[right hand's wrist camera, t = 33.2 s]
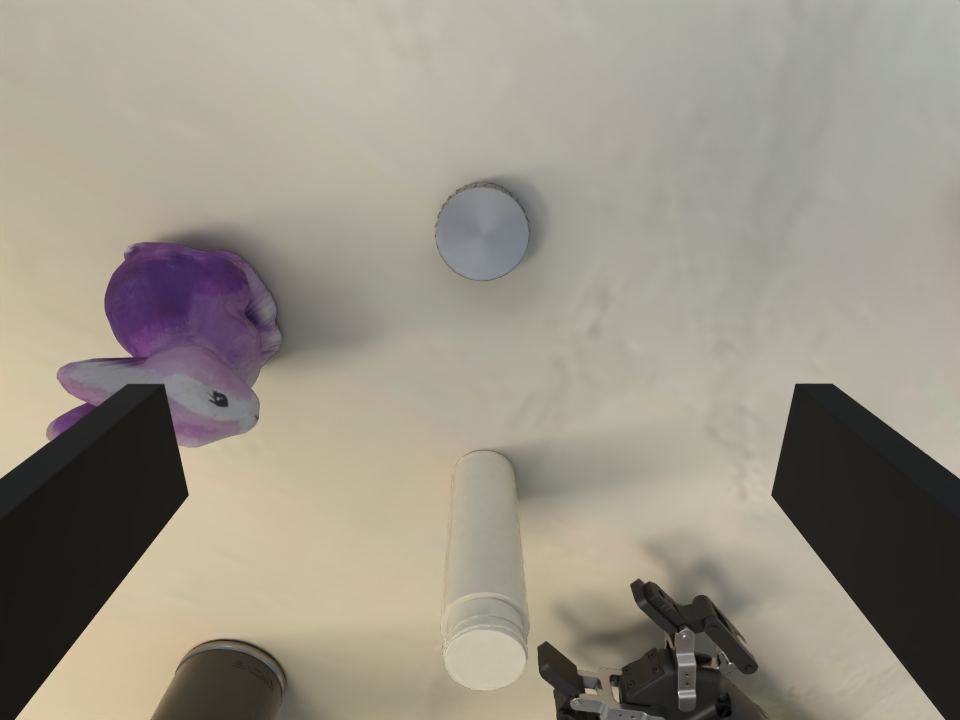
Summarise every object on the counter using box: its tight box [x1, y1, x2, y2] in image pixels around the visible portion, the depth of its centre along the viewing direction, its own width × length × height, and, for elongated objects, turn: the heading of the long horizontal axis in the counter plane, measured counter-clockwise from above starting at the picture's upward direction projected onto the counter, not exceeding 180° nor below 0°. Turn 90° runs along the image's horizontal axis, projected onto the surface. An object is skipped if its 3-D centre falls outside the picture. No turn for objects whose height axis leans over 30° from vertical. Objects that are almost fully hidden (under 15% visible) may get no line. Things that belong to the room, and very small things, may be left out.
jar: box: [440, 450, 530, 691], centre depth 37 cm, size 5×5×16 cm
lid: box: [435, 182, 530, 281], centre depth 37 cm, size 6×6×2 cm
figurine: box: [46, 242, 282, 448], centre depth 33 cm, size 9×10×15 cm
